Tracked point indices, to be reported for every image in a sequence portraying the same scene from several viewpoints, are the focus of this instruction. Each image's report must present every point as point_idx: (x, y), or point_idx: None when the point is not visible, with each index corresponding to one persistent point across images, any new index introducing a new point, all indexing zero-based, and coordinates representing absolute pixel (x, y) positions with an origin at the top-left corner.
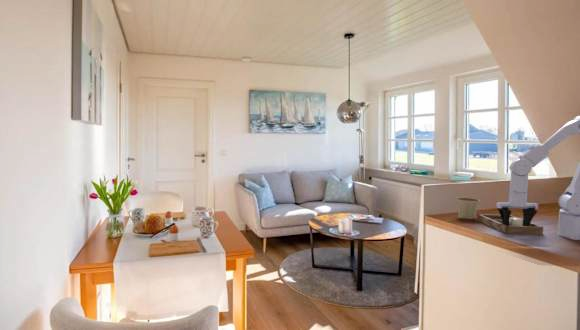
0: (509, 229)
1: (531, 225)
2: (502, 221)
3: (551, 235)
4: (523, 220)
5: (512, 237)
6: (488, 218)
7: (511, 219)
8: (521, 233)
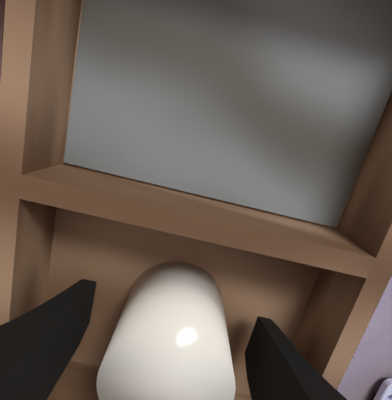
0: None
1: (314, 358)
2: (53, 299)
3: (362, 387)
4: (278, 356)
5: None
6: (8, 106)
7: (97, 385)
8: None
